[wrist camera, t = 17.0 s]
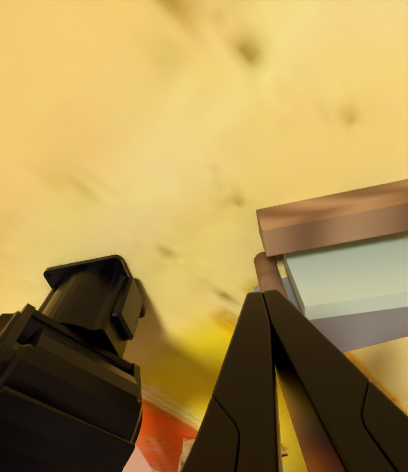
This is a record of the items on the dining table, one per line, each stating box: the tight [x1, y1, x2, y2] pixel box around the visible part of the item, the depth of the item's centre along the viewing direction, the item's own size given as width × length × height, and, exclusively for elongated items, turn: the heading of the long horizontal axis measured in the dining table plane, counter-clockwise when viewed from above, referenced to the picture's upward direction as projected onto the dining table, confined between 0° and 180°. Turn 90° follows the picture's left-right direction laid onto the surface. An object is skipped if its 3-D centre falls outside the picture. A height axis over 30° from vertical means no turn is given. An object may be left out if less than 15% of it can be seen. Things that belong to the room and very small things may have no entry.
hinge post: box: [254, 252, 293, 304], centre depth 21 cm, size 2×2×6 cm
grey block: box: [254, 277, 408, 353], centre depth 24 cm, size 10×5×4 cm, turn 113°
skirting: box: [256, 179, 408, 257], centre depth 19 cm, size 18×2×3 cm, turn 103°
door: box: [283, 231, 408, 320], centre depth 20 cm, size 11×2×6 cm, turn 102°
